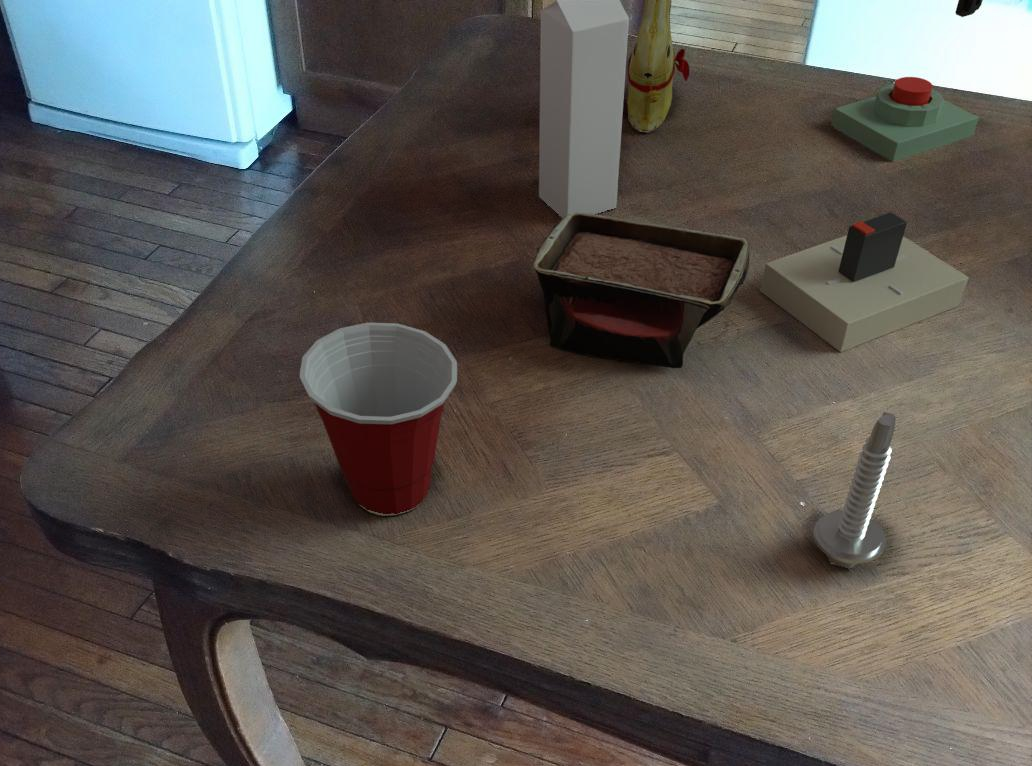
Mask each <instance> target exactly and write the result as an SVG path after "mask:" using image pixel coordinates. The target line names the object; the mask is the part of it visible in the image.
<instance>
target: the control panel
mask: <svg viewBox="0 0 1032 766" xmlns="http://www.w3.org/2000/svg"><path fill="white" fill-rule="evenodd" d="M846 238H847V234H846V235H844V236H840V237H837V238H835V239H831V240H829V241H825V242H823V243H821V244H817V245H815V246H811V247H809V248H806V249H802V250H800V251H797V252H795V253H791V254H789V255H785V256H782V257H780V258H777V259H774V260H771V261H769V262H766V263H765V264H764V269H763V275H762V278H761V279H762V280H761V284H760V285H761V286H760V293H762V294H763V295H764V296H766V297H767V298H768V299H769V300H771V301H773V302H774V303H775V304H776V305H777V306H779V307H780V308H781V309H782V310H784V311H785V312H787V313H788V314H789V315H790V316H792V317H793V318H795V319H796V320H797V321H799V322H800V323H801V324H802V325H804V326H805V327H806V328H807V329H809V330H811V331H812V332H813V333H814V334H816V335H817V336H818V337H820V338H821V339H822V340H824V341H825V342H826V343H828V344H829V345H830V346H831V347H833V348H834V349H835V350H836V351H838V352H839V353H842V352H844V351H845V352H846V351H847V350H850V349H852V348H856V347H858V346H860V345H863V344H865V343H867V342H870V341H872V340H876V339H878V338H880V337H884V336H886V335H888V334H891V333H893V332H896V331H898V330H901V329H904V328H906V327H909V326H911V325H915V324H916V323H918V322H921V321H925V320H927V319H929V318H931V317H934V316H937V315H939V314H942V313H944V312H946V311H947V312H948V311H949V310H952V309H954V308H958V307H959V306H960V304H961V301H962V299H963V296H964V293H965V290H966V287H967V285H968V281H969V280H970V279H969V276H967V275H966V274H965V273H962V272H961V271H959V270H958V269H956V268H955V267H953V266H951V265H949V264H948V263H947V262H945V261H943V260H942V259H940V258H938V257H937V256H935V255H934V254H932V253H931V252H929V251H928V250H926V249H924V248H923V247H921V246H919V245H918V244H916V243H915V242H913V241H912V240H910V239H909V238H907V237H905V236H904V235H903V238H902V242H901V245H900V249H899V252H898V256H897V259H896V263H895V266H894V268H891V269H888V270H885V271H883V272H880V273H877V274H874V275H872V276H869V277H866V278H863V279H861V280H858V281H855V282H852V281H851V280H849V279H848V278H847V277H845V276H844V275H842V274H841V273H839V272H838V271H839V267H840V262H841V258H842V254H843V250H844V246H845V242H846Z"/></svg>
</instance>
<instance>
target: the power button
mask: <svg viewBox="0 0 1032 766" xmlns="http://www.w3.org/2000/svg"><path fill="white" fill-rule="evenodd" d="M893 84H894V88H893V92H892V96H891V100H893V101H895V102H897V103H899V104H903V105H908V106H922V105H925V104H928V102H929V98H930V95H931V91H932V89H933V83H932V82H931V81H929V80H927V79H925V78H923V77H922V78H921V77H916V76H903V77H900V78H897V79H896V80H895V81H894V83H893Z"/></svg>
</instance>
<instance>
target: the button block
mask: <svg viewBox="0 0 1032 766" xmlns="http://www.w3.org/2000/svg"><path fill="white" fill-rule="evenodd" d="M894 84H895V83H892V84H889V85H886V86H881V88H880V89H879V91H878V92H877V93H876V96H872V97H868V98H865V99H860V100H858V101H854V102H851V103H848V104H845V105H841V106H837V107H835V108H834V110H833V114H832V118H831V123H830V127H831V126H833V127H834V128H836V129H838V130H839V131H841V132H843V133H844V134H846V135H848V136H850V137H851V138H853V139H855V140H856V141H855V140H854V141H855V142H857V141H858V142H860V143H861V144H860V143H859V144H860V145H862V144H863V145H862V146H864V147H865V146H866V147H865V148H867V147H868V148H867V149H869V148H870V149H869V150H870V151H872V150H873V151H872V152H874V151H875V152H874V153H876V152H877V153H876V154H877V155H879V154H880V155H879V156H880V157H883V158H885V159H886V160H888V161H890V162H891V163H894V162H897V161H901V160H903V159H906V158H910V157H913V156H916V155H918V154H922V153H925V152H928V151H932V150H935V149H938V148H940V147H941V148H942V147H943V146H946V145H949V144H953V143H957V142H959V141H962V140H965V139H968V138H971V137H974V134H975V132H976V128H977V125H978V122H979V119H980V117H979V116H978V115H976V114H973V113H971V112H970V111H967V110H965V109H963V108H961V107H959V106H958V105H956V104H953V103H951V102H950V101H947V100H945V99H944V97H943V96H942V94H941V92H938V91H937V90H935V89H933V88H932V91H931V95H930V98H929V102H928V104H925V105H922V106H908V105H903V104H899V103H897V102H895V101H893V100H891V96H892V92H893V88H894ZM834 128H833V129H834ZM836 129H835V130H836ZM839 131H838V132H839ZM841 132H840V133H841ZM843 133H842V134H843ZM844 134H843V135H844ZM846 135H845V136H846ZM848 136H847V137H848ZM850 137H849V138H850ZM851 138H850V139H851ZM853 139H852V140H853ZM858 142H857V143H858Z"/></svg>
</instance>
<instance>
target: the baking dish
mask: <svg viewBox="0 0 1032 766" xmlns="http://www.w3.org/2000/svg"><path fill="white" fill-rule="evenodd" d="M750 247H751V246H750V242H749V241H748V239H747V238H745V237H740V236H732V235H727V234H722V233H721V234H720V233H714V232H713V233H712V232H708V231H700V230H694V229H686V228H680V227H675V226H673V227H672V226H668V225H663V224H657V223H652V222H644V221H640V220H630V219H625V218H621V217H613V216H607V215H600V214H596V215H595V214H589V213H573V214H569V215H568V216H566V217H564V218H563V219H562V218H561V219H560V220H559V221H558V222H557V223H555V224H554V225H553V226H552V229H551V230H550V231H549V233H548V235H547V236H545V238H543V240H542V241H541V244H540V246H539V247H537V248H536V255H535V257H534V259H533V262H532V269H534V271H535V273H536V275H537V278H538V282H539V285H540V290H541V293H542V297H543V302H544V304H543V305H544V309H545V316H546V317H545V318H546V322H547V329H548V336H549V347H552V348H555V349H557V350H561V351H566V352H570V353H575V354H581V355H585V356H590V357H595V358H603V359H609V360H616V361H623V362H629V363H635V364H639V365H640V364H641V365H647V366H648V365H649V366H656V367H662V368H668V369H669V368H670V369H682V368H683V366H684V354H685V352H686V350H687V348H688V346H689V344H690V342H691V340H692V338H693V337H694V335H695V332H696V331H697V329H698V328H700V327H702V326H704V324H706V323H707V322H709V321H710V320H712V319H713V318H715V317H716V316H717V315H719V314H720V313H721V312H722V311H723V310H725V309H726V308H727V307H728V306H729V305H730V304H731V302H732V300H733V298H734V296H735V295H736V293H737V291H738V289H739V288H740V287H741V286H742V285H744V282H745V280H746V278H747V276H748V275H747V274H748V272H749V267H750V250H751V249H750Z"/></svg>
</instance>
